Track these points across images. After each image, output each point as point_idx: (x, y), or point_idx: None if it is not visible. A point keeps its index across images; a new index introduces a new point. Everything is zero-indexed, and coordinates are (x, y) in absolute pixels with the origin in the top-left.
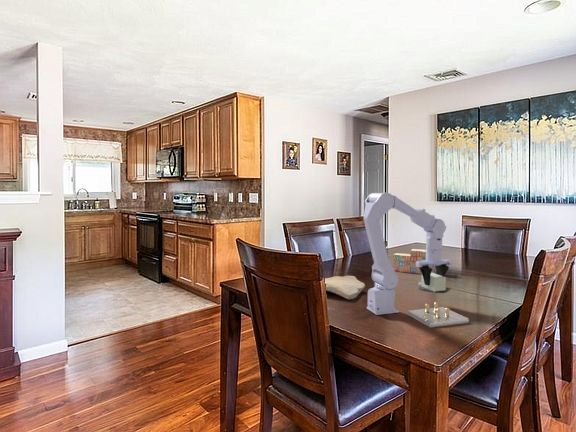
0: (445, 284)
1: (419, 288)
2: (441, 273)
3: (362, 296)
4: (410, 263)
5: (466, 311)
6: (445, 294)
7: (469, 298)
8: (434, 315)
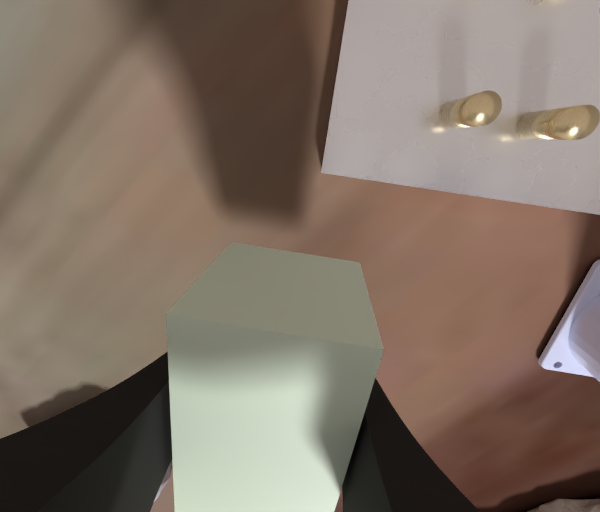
0: (214, 265)
1: (171, 466)
2: (145, 430)
3: (496, 502)
4: None
5: (185, 91)
6: (99, 368)
7: (12, 273)
8: (561, 30)
